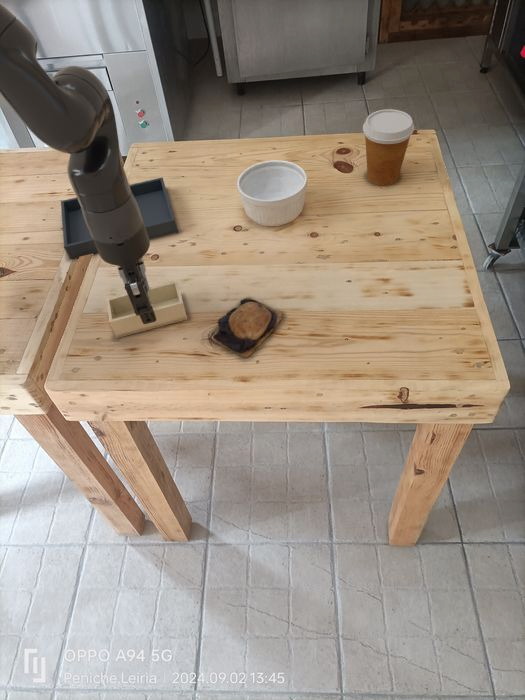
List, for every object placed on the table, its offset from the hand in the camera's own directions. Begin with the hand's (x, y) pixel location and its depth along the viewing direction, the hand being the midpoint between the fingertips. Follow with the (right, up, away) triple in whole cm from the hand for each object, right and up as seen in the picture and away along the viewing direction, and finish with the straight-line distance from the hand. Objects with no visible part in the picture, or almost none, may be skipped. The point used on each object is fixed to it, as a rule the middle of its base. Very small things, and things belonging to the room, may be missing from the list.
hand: (146, 303), depth 87 cm
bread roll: (+17, -4, 0) cm, 17 cm away
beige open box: (0, -2, +3) cm, 3 cm away
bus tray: (-9, +18, +20) cm, 28 cm away
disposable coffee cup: (+44, +28, +22) cm, 56 cm away
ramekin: (+21, +20, +18) cm, 34 cm away
